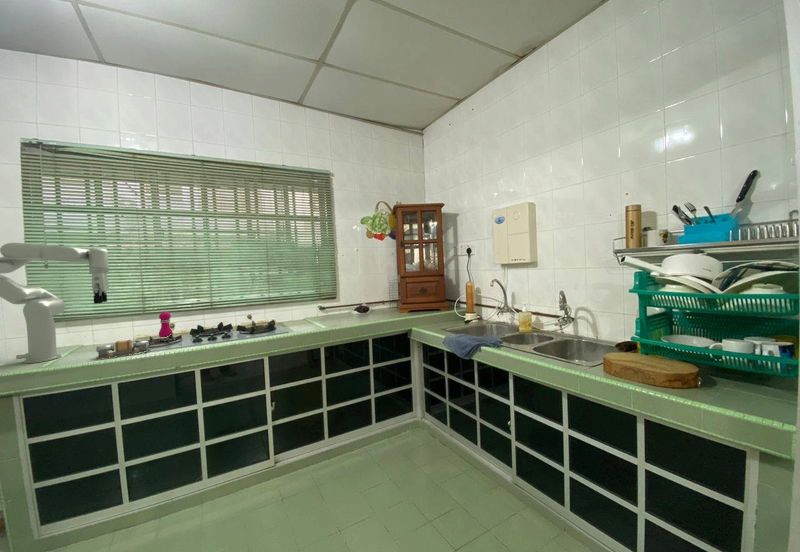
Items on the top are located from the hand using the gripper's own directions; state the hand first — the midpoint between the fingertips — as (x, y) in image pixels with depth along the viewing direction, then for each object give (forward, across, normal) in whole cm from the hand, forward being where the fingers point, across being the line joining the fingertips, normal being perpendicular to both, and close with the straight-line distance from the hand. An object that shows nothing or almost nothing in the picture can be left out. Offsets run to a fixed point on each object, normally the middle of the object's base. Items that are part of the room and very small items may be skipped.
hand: (100, 302), depth 166 cm
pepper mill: (+28, +18, -26) cm, 43 cm away
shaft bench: (+28, -10, -10) cm, 31 cm away
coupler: (+27, -9, -10) cm, 30 cm away
